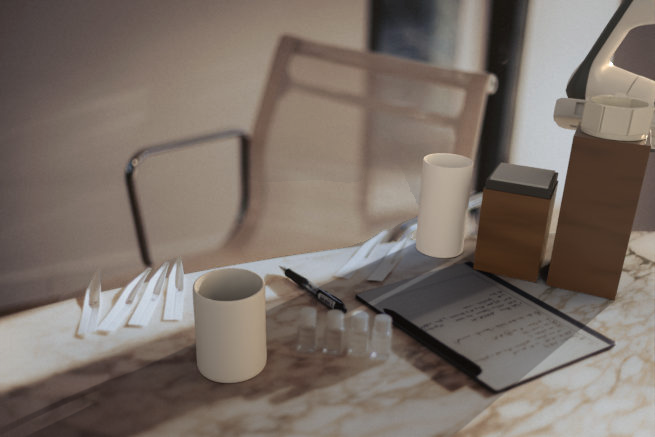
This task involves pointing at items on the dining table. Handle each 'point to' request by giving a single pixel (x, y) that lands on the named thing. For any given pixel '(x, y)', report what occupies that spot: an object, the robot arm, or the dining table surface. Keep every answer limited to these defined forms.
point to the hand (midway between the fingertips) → (619, 103)
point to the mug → (230, 324)
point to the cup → (443, 204)
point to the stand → (569, 220)
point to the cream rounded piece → (617, 117)
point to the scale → (522, 180)
